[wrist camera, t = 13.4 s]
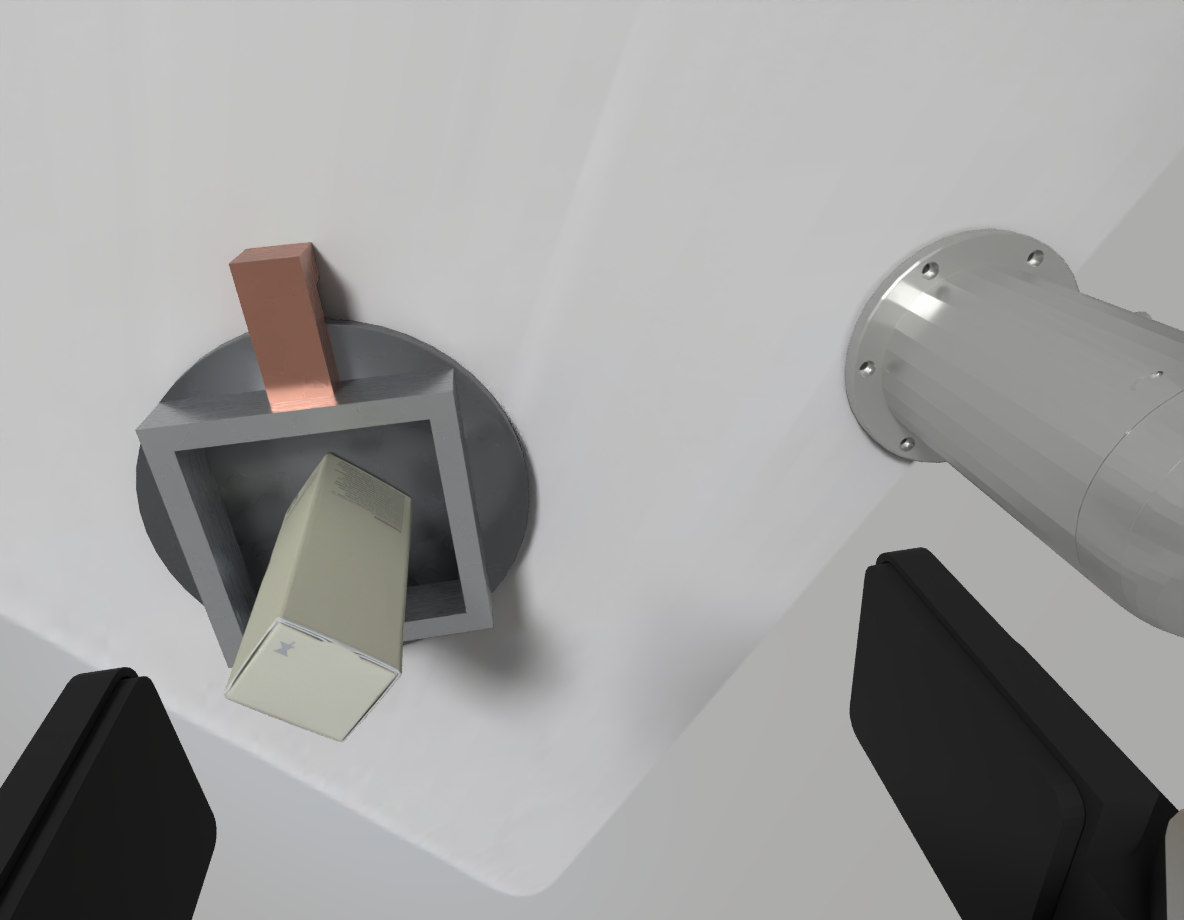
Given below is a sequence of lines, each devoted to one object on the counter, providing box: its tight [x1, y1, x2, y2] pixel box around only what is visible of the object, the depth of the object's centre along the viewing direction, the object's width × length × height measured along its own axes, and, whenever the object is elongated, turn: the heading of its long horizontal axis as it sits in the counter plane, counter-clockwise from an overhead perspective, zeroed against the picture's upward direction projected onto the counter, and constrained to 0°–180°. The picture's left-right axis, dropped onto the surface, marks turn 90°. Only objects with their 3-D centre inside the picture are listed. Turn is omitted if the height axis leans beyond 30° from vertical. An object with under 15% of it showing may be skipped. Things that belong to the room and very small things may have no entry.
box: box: [224, 453, 413, 742], centre depth 33 cm, size 5×4×13 cm
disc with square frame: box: [136, 242, 529, 668], centre depth 37 cm, size 19×22×4 cm
